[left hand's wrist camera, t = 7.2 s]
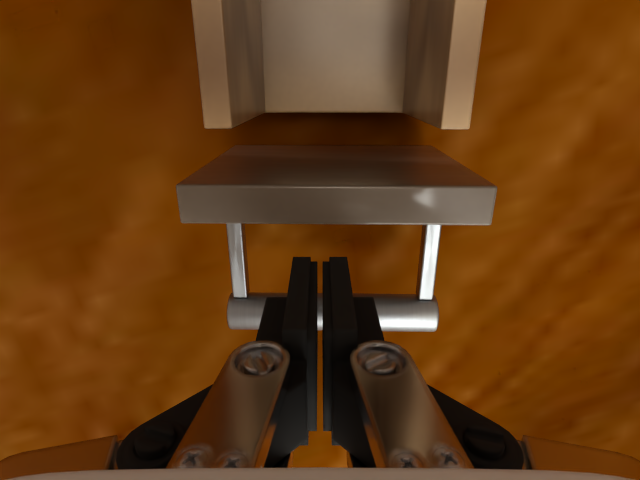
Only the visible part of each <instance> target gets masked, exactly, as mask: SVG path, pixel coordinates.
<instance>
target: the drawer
mask: <svg viewBox="0 0 640 480" xmlns="http://www.w3.org/2000/svg"><path fill="white" fill-rule="evenodd" d="M191 5H192V15H193V24H194V34H195V43H196V53H197V63H198V72H199V82H200V91H201V101H202V110H203V120H204V127H205V128H206V129H231V128H233V127H236V126H238V125H240V124H242V123H244V122H246V121H248V120H250V119H253V118H255V117H257V116H259V115H261V114H263V113H404V114H407V115H409V116H412V117H414V118H416V119H419V120H421V121H424V122H426V123H428V124H431V125H433V126H436V127H438V128H440V129H469V127H470V120H471V112H472V105H473V97H474V90H475V82H476V75H477V67H478V60H479V53H480V45H481V38H482V30H483V23H484V15H485V8H486V0H191ZM176 190H177V198H178V205H179V212H180V220H181V223H226V225H227V236H228V247H229V258H230V269H231V280H232V290H233V293H231V295H230V297H229V300H228V306H227V322H228V326H229V328H230V329H259V325H260V321H261V317H262V313H263V309H264V305H265V301H266V298H267V297H287V294H288V293H249V291H250V290H249V277H248V264H247V250H246V237H245V224H382V225H423V227H422V237H421V246H420V256H419V266H418V276H417V286H416V294H353V297H373V298H374V301H375V305H376V309H377V313H378V317H379V321H380V325H381V329H382V331H423V332H434V331H436V329H437V327H438V322H439V309H438V303H437V300H436V297H435V296H434V295H433V293H434V284H435V276H436V268H437V259H438V251H439V242H440V234H441V226H442V225H491V222H492V216H493V210H494V204H495V198H496V192H497V186H495V185H494V184H492V183H490V182H489V181H487V180H486V179H484V178H482V177H481V176H479V175H478V174H476V173H474V172H473V171H471V170H470V169H468V168H466V167H465V166H463V165H462V164H460V163H458V162H457V161H455V160H454V159H452V158H450V157H449V156H447V155H446V154H444V153H442V152H441V151H439V150H438V149H436V148H434V147H433V146H383V145H235V146H234V147H232V148H231V149H229V150H228V151H226V152H225V153H223V154H222V155H220V156H219V157H217V158H216V159H214V160H213V161H211V162H210V163H208V164H207V165H205V166H204V167H202V168H201V169H199V170H198V171H196V172H195V173H193V174H192V175H190V176H189V177H187V178H186V179H184V180H183V181H181V182H180V183H178V184H177V185H176ZM317 330H323V293H317Z"/></svg>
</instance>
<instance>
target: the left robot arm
mask: <svg viewBox="0 0 640 480" xmlns="http://www.w3.org/2000/svg"><path fill="white" fill-rule="evenodd" d="M308 431H317V262H311V258H310V257H293V261H292V268H291V274H290V281H289V287H288V294H287V297H267V298H266V301H265V305H264V309H263V313H262V317H261V321H260V325H259V329H258V333H257V337H256V341H253V342H249V343H246V344H244V345H241V346H240V347H238V348H237V349H235V350H234V351H233V352H232V353H231V355H230V356H229V357H228V359H227V361H226V363H225V365H224V366H223V368H222V370H221V372H220V373H219V375H218V377H217V379H216V380H215V382H214V384H213V385H211V386H209V387H207V388H206V389H204V390H202V391H200V392H199V393H197V394H195V395H193V396H191V397H190V398H188V399H186V400H184V401H183V402H181V403H179V404H177V405H175V406H174V407H172V408H170V409H168V410H167V411H165V412H163V413H161V414H160V415H158V416H156V417H154V418H152V419H151V420H149V421H147V422H145V423H144V424H142V425H140V426H139V427H137V428H136V429H135V430H133V431H132V432H131V433H130V434H129V435H128V436H127V437H126V438H125V439H124V440H121V441H118V437H117V435H114V436H109V437H103V438H98V439H92V440H87V441H81V442H76V443H70V444H65V445H60V446H54V447H49V448H43V449H38V450H32V451H27V452H22V453H19V454H15V455H12V456H9V457H7V458H5V459H3V460H1V461H0V480H640V461H639V460H637V459H635V458H633V457H631V456H628V455H625V454H621V453H618V452H613V451H608V450H602V449H597V448H591V447H586V446H580V445H575V444H570V443H564V442H559V441H553V440H548V439H542V438H537V437H531V436H526V435H523V437H522V441H519V440H516V439H515V438H514V437H513V436H512V435H511V434H510V433H509V432H508V431H507V430H505V429H504V428H503V427H501V426H500V425H498V424H496V423H495V422H493V421H491V420H489V419H488V418H486V417H484V416H482V415H480V414H479V413H477V412H475V411H473V410H472V409H470V408H468V407H466V406H465V405H463V404H461V403H459V402H457V401H456V400H454V399H452V398H450V397H449V396H447V395H445V394H443V393H441V392H440V391H438V390H436V389H434V388H433V387H431V386H429V385H427V384H426V382H425V380H424V379H423V377H422V375H421V373H420V372H419V370H418V368H417V366H416V365H415V363H414V361H413V359H412V357H411V356H410V355H409V353H408V352H407V351H406V350H405V349H403V348H402V347H400V346H399V345H396V344H394V343H391V342H387V341H384V337H383V333H382V329H381V325H380V321H379V317H378V313H377V309H376V305H375V301H374V298H373V297H353V294H352V288H351V281H350V274H349V268H348V261H347V257H330V258H329V262H323V431H332V445H341V446H342V447H343V448H344V449H346V450H347V465H348V468H292V465H293V450H294V449H296V448H297V447H298V446H299V445H308Z"/></svg>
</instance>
